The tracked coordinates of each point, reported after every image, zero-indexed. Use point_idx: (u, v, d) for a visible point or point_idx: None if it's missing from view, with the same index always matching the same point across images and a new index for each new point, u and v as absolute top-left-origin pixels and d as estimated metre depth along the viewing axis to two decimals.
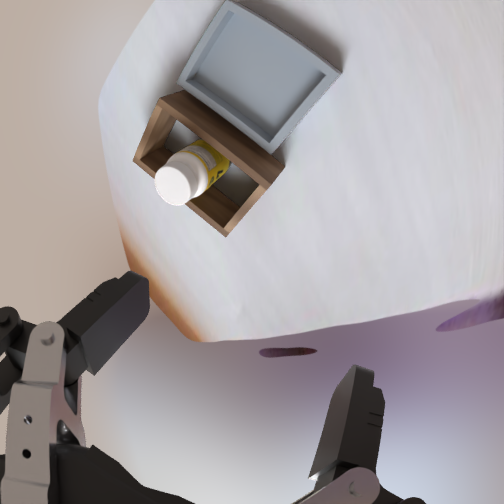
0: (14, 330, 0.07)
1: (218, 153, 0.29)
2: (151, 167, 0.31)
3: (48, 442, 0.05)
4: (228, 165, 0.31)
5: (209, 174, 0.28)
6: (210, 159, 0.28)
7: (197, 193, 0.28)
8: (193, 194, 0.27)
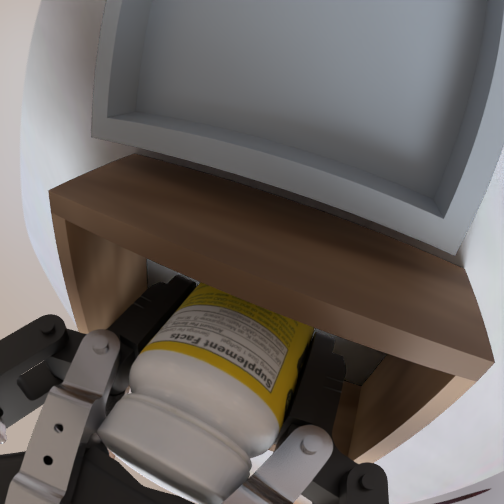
0: (60, 340, 0.07)
1: None
2: None
3: (74, 456, 0.05)
4: None
5: (277, 401, 0.07)
6: (262, 342, 0.08)
7: (255, 455, 0.07)
8: None
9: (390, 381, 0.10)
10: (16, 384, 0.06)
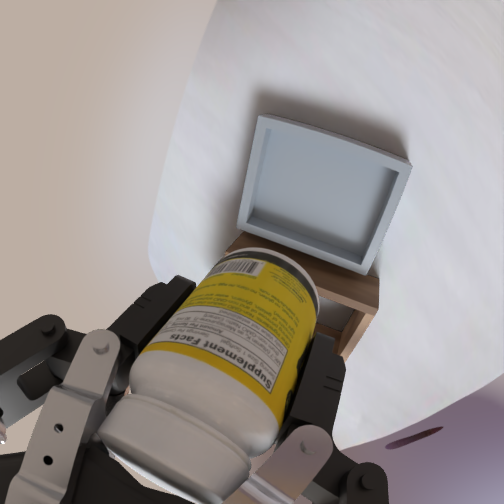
0: (61, 340, 0.07)
1: (279, 305, 0.09)
2: None
3: (74, 456, 0.05)
4: (315, 319, 0.11)
5: (276, 402, 0.07)
6: (262, 343, 0.08)
7: (255, 456, 0.07)
8: None
9: (351, 323, 0.28)
10: (16, 384, 0.06)
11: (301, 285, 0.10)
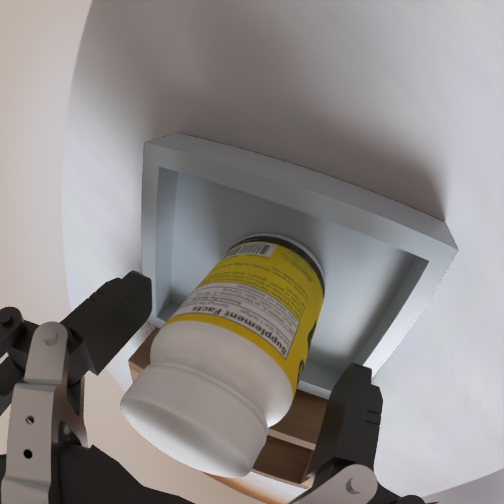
0: (17, 330, 0.07)
1: (291, 283, 0.10)
2: None
3: (50, 443, 0.05)
4: (322, 299, 0.12)
5: (291, 368, 0.08)
6: (277, 314, 0.09)
7: (270, 425, 0.08)
8: None
9: None
10: None
11: (309, 267, 0.11)
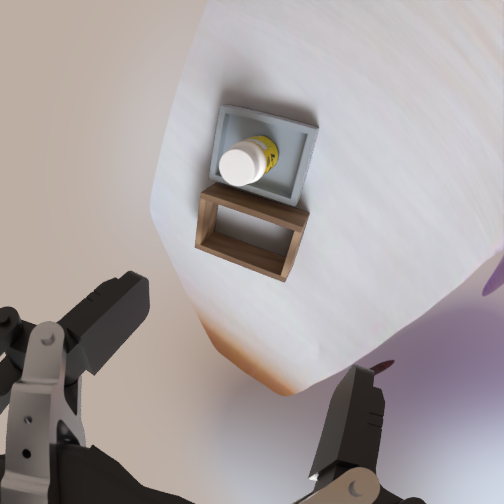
0: (14, 330, 0.07)
1: (265, 141, 0.33)
2: (211, 248, 0.43)
3: (48, 442, 0.05)
4: (277, 153, 0.35)
5: (265, 153, 0.31)
6: (261, 143, 0.32)
7: (260, 172, 0.32)
8: (257, 169, 0.30)
9: None
10: None
11: (272, 141, 0.35)
